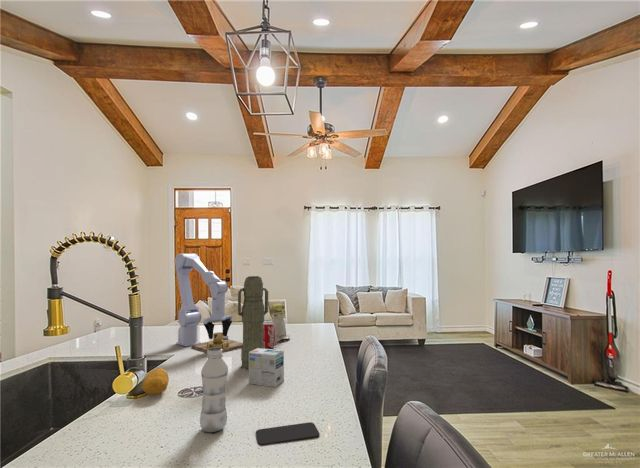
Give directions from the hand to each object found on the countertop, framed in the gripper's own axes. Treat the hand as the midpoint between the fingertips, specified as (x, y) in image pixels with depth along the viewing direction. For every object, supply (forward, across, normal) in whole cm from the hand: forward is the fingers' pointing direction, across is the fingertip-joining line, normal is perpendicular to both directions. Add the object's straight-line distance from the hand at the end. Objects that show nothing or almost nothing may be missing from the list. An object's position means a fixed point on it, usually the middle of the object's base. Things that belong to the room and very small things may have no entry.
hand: (217, 337), depth 169 cm
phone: (+6, -35, -80) cm, 88 cm away
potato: (+6, -43, -29) cm, 53 cm away
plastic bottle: (+5, -45, -64) cm, 79 cm away
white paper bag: (+6, +31, -7) cm, 32 cm away
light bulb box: (+6, -14, -49) cm, 52 cm away
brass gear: (+4, 0, 0) cm, 4 cm away
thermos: (+6, -5, -31) cm, 32 cm away
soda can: (+6, +15, -17) cm, 23 cm away
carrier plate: (+5, +3, +3) cm, 7 cm away
